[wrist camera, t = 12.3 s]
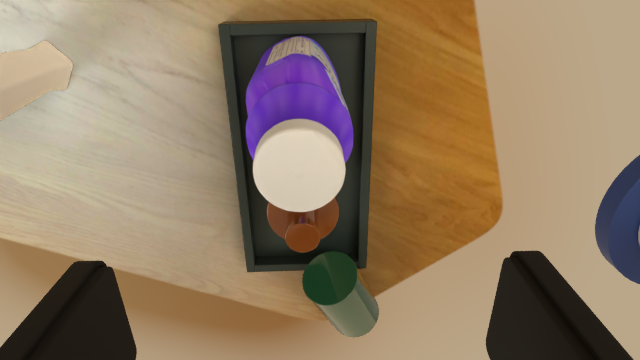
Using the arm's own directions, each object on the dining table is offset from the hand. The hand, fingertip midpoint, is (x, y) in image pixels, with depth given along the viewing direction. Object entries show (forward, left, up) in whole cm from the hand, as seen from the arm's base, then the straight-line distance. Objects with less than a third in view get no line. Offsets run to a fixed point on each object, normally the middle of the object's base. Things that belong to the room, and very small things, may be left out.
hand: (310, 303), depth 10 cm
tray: (+1, +7, -26) cm, 27 cm away
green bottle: (-1, +16, -20) cm, 26 cm away
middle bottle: (+1, +7, -26) cm, 27 cm away
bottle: (0, 0, -26) cm, 26 cm away
